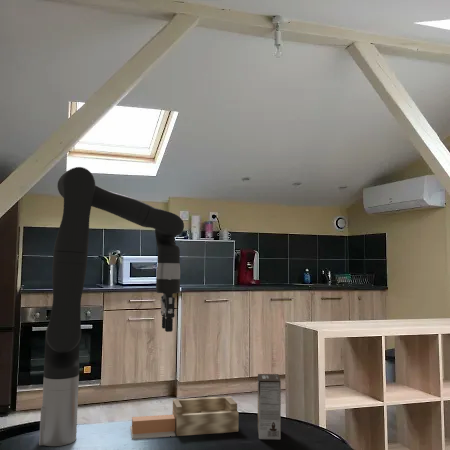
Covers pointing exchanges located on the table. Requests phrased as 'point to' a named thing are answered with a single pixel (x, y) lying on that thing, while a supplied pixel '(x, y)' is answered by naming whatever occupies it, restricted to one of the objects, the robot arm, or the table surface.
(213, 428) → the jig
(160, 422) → the orange rectangular block
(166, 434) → the mat
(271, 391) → the coffee box
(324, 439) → the table surface
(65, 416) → the robot arm
